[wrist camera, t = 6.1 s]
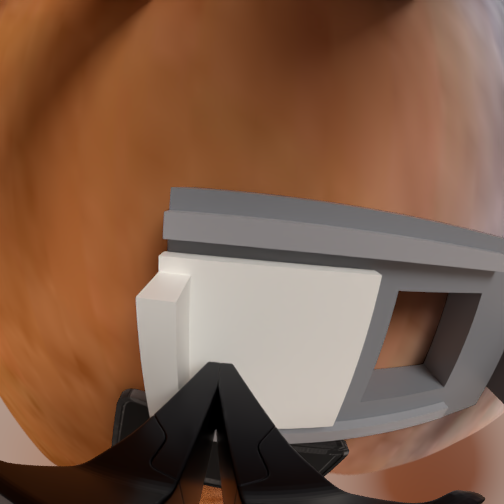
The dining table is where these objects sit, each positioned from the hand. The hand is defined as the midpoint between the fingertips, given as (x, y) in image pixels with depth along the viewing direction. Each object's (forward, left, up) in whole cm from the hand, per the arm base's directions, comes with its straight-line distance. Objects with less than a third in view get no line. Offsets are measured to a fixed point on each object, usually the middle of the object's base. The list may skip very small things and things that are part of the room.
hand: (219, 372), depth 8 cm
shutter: (-1, 0, -1) cm, 2 cm away
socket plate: (-7, 0, -4) cm, 8 cm away
